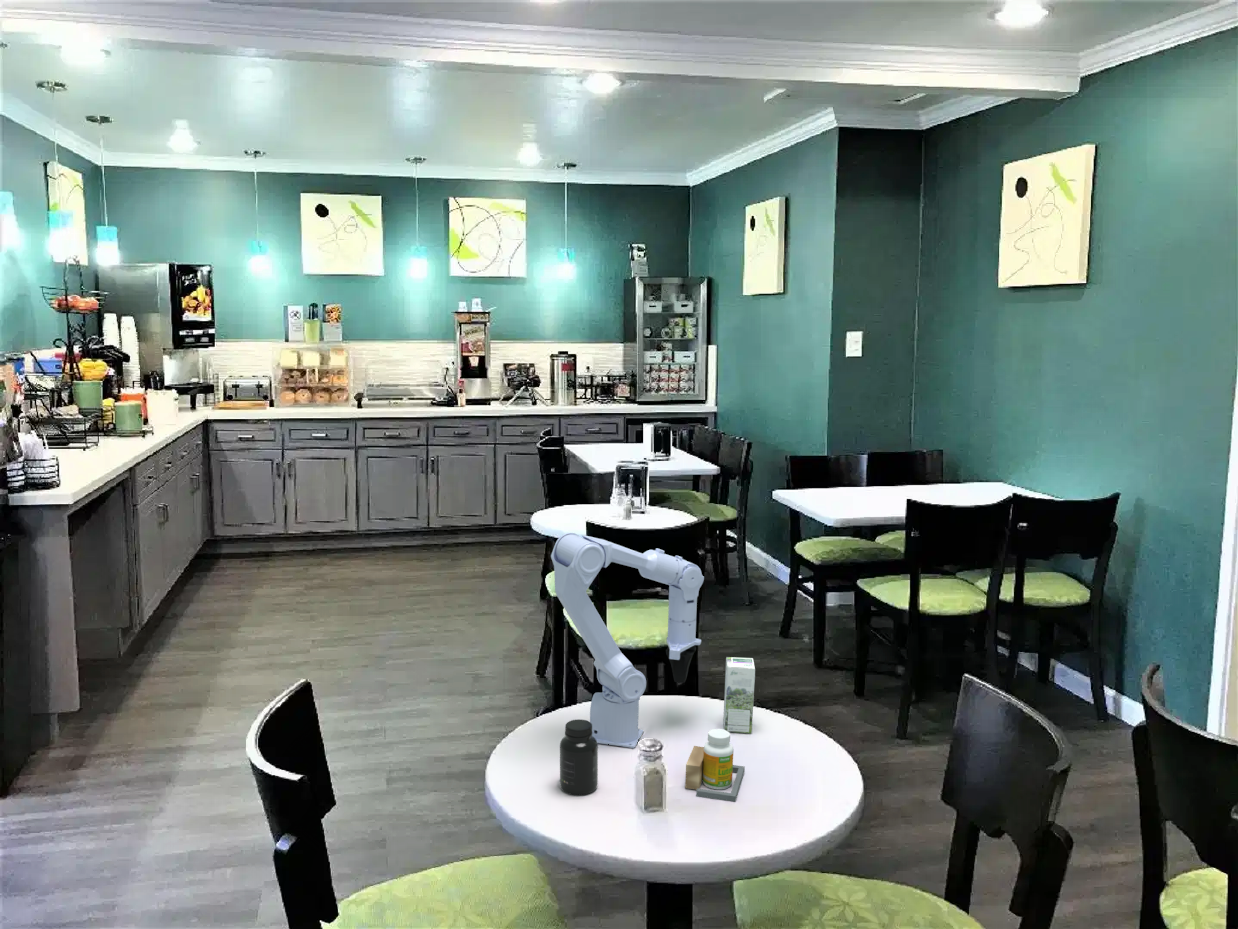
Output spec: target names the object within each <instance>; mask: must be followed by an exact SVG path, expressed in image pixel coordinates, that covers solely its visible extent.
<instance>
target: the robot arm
mask: <svg viewBox="0 0 1238 929" xmlns="http://www.w3.org/2000/svg"><path fill="white" fill-rule="evenodd" d="M550 559H551V560H552V565H553V570H554V592H555V594H556V597H557V598H558V600H559V601H560V603H561V605H562V607H563V608H564V609H565V612H566V613H567V615H568V616H569V618H570V620H571V622H572V623H573V625H574V627H575V628H576V630H577V631H578V633H579V635H580V637H581V638H582V640H583V642H584V643H585V645H586V646H587V648H588V650H589V651H590V654H591V655H592V657H593V658H594V661H593V665H594V667H595V669H596V678H597V680H598V683H599V684H600V685H602V692H595V693H594V694H593V696H592V698H591V703H590V708H589V709H590V710H589V722H591V724H592V732H593V734H592V736H593V737H594V738H595V739H596V741H597V743H598V744H601V745H602V744H603V745H608V744H609V746H618V747H624V748H631V749H634V748H636V746H637V744H638V743H637V742H639V741H638V739H639V738H640V739H641V737H642V735H643V734H644V729H640V728H639V711H640V710H639V709H640V708H639V707H640V706H639V705H640V700H641V697H642V696H643V694H644V693H645V691H646V688H647V680H646V676H645V675H644V673H643V672H641V671H640V670H638V669H636V668H635V667H634V665H633V663H632V662H631V661H630V660H629V659H628V658H627V657H626V656H625V655H624V653H622V651H621V650H620V648H619V646H618V645H617V644H618V643H616V641H615V640H614V638H613V636H612V634H611V632H610V630H609V629H608V627H607V626H606V623H605V622H604V621H603V619H602V617H601V615H600V614H599V612H598V610H597V609H596V606H595V605H594V603H593V602H592V600H591V598H590V596H589V595H588V593H587V591H588V589H589V587H590V586H591V585H592V583H593V581H594V580H595V579H596V577H597V575H598V574H599V572H600V571H601V569H602V568H605V569H606V568H607V567H608V566H610V564H611V563H615V564H617V565H618V564H619V565H623V566H627V567H631V568H635V569H638V572H639V575H640V576H641V577H643V578H645V579H649V580H651V581H655V582H658V583H660V584H665V585H668V586H669V587H668V611H667V612H668V614H667V615H668V616H667V617H668V618H667V622H668V623H667V637H666V644H667V646H668V647H667V648H666V649H665V653H666V656H667V659H668V660H669V663H670V665H671V666H670V667H671V671H672V676H673V680H674V683H681V684H685V682H686V681H687V677H688V673H689V668H690V664H691V662H692V659H693V656H694V653H695V652H696V650H697V646H700V645H701V644H702V639H701V638H696V634H697V633H696V632H697V608H698V607H697V605H698V604H697V603H698V597H699V591H700V588H701V587H702V585H703V584H704V580H705V576H703V574H702V570H701V568H700V567H699V566H698V565H697V564H695V563H693V562H691V561H687V560H686V559H684V558H683V556H679V555H675V556H673V555H669V554H666V553H665V550H663V549H660V548H655V549H649V550H646V551H644V552H643V553H642V552H639V551H637V550H633V549H630V548H628V547H625V546H623V545H620V544H617V543H614V542H612V541H608V540H606V539H604V538H598V537H593V536H588V535H583V534H581V536H580V535H579V534H577V533H575V532H566V533H563V534H562V535H560V536H559V537H558V538H557V540H556V541H555V544H554V546H553V549H552V552H551V553H550ZM640 739H639V740H640Z"/></svg>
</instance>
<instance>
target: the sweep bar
mask: <svg viewBox="0 0 1238 929" xmlns="http://www.w3.org/2000/svg"><path fill="white" fill-rule="evenodd" d="M703 755H704V746H697V745H693V748H692V750H691V752H690V755H689V757H688V759H687V761H686V763H685V780H684V781H685V782H684V783H685V785H684V787H685V788H684V789H689V790H690V789H691V790H695V791H697V788H699V789H701V788H700V787H701V785H702V783H703Z"/></svg>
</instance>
